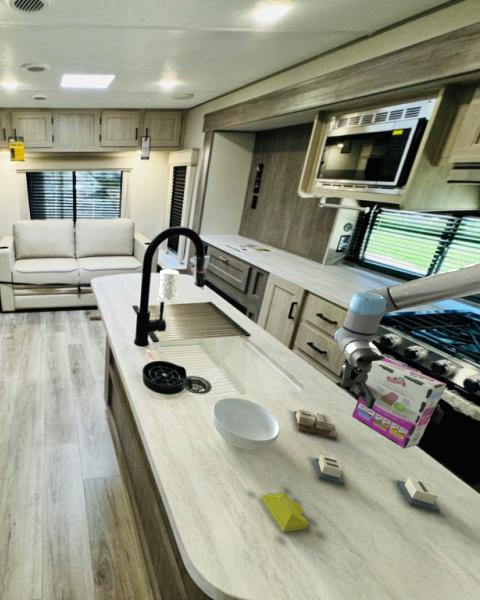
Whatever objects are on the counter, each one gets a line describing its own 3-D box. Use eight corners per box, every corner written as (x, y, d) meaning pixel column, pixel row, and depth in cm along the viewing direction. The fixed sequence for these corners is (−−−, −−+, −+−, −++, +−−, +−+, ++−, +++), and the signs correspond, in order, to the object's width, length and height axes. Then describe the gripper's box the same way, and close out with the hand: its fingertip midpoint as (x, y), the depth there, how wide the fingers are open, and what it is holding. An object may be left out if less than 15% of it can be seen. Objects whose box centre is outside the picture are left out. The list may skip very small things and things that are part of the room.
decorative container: (167, 295, 199) (169, 268, 193) (181, 300, 190) (183, 272, 183) (153, 298, 194) (155, 270, 188) (166, 304, 185) (169, 275, 178)
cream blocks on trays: (424, 490, 74) (430, 479, 72) (438, 513, 68) (445, 502, 67) (312, 460, 82) (316, 449, 81) (318, 479, 77) (322, 468, 75)
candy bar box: (419, 444, 70) (449, 384, 64) (404, 450, 69) (433, 389, 63) (364, 411, 80) (385, 356, 74) (350, 416, 79) (371, 360, 73)
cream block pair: (327, 421, 95) (330, 411, 94) (335, 439, 88) (339, 429, 87) (293, 413, 98) (295, 403, 97) (298, 430, 91) (301, 421, 90)
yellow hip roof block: (251, 494, 73) (254, 486, 72) (288, 490, 74) (291, 482, 73) (281, 540, 64) (284, 531, 63) (322, 535, 65) (326, 526, 64)
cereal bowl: (207, 447, 86) (210, 427, 84) (211, 409, 100) (214, 391, 98) (278, 469, 80) (284, 448, 77) (271, 425, 94) (276, 406, 91)
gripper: (415, 380, 83) (470, 439, 65) (313, 362, 92) (335, 410, 73) (426, 356, 81) (487, 410, 62) (319, 340, 90) (344, 384, 71)
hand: (404, 410), depth 68 cm, fingers closed on candy bar box, 10 cm apart
